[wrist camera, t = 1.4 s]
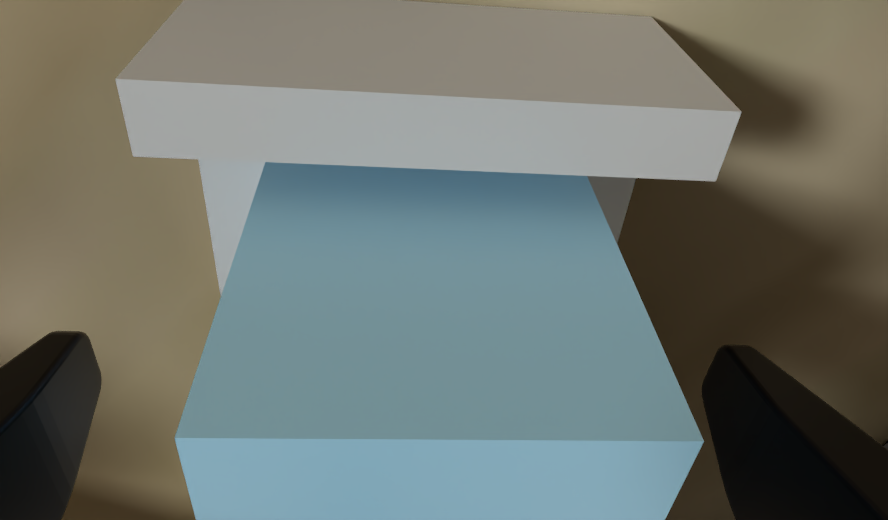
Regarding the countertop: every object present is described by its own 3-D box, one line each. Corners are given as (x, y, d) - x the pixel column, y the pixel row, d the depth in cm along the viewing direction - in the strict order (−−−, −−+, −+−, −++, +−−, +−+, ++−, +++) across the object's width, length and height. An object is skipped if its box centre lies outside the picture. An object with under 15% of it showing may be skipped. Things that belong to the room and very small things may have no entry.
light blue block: (507, 423, 12) (570, 814, 8) (302, 421, 12) (243, 829, 8) (568, 133, 9) (749, 543, 4) (279, 120, 9) (138, 548, 4)
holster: (543, 425, 14) (572, 561, 12) (257, 423, 14) (226, 565, 11) (651, 16, 9) (742, 111, 7) (195, -13, 8) (115, 78, 6)
